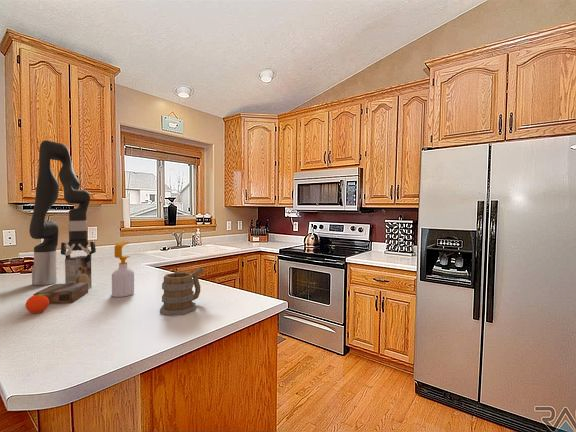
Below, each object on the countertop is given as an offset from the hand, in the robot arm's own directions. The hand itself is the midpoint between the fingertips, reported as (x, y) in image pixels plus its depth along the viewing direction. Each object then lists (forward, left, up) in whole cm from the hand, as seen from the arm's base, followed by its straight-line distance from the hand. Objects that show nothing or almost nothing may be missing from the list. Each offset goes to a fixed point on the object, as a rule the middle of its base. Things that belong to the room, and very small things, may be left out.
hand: (78, 262), depth 146 cm
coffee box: (0, 0, -14) cm, 14 cm away
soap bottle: (+24, -15, -14) cm, 31 cm away
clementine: (0, -34, -14) cm, 37 cm away
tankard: (+54, -41, -14) cm, 69 cm away
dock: (0, -16, -13) cm, 21 cm away
